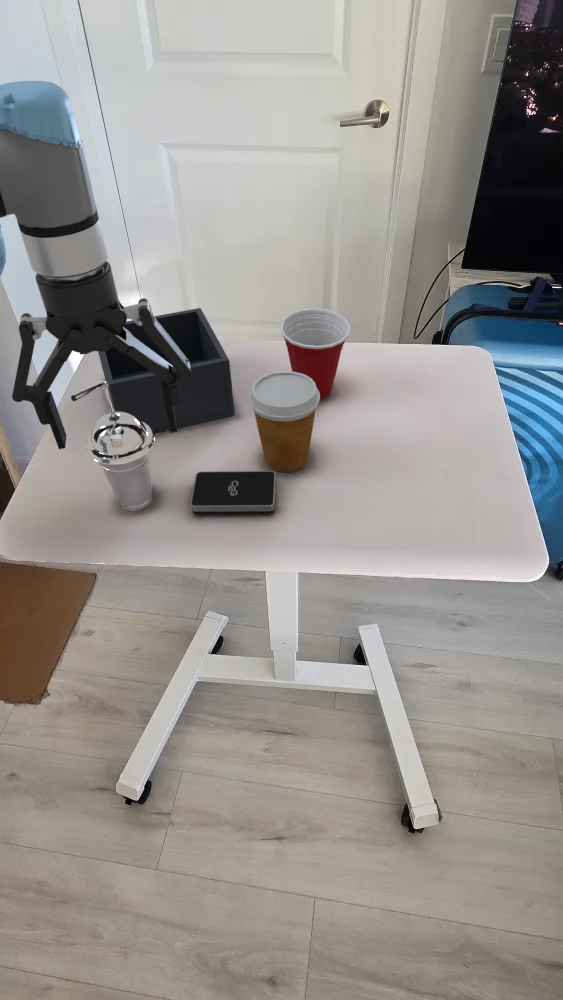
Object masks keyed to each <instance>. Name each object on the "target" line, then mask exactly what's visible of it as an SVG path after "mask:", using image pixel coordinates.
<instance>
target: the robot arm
mask: <svg viewBox="0 0 563 1000" xmlns="http://www.w3.org/2000/svg"><path fill="white" fill-rule="evenodd" d="M69 97H70V96H69V94H67V92H66V91H65V90H64V89H63V88H62V87H61V86H59V85H58V84H57V83H54V82H52V81H46V80H22V81H12V82H5V83H3V84H0V219H2V218H5V217H7V216H10V215H11V216H12V215H14V216H15V218H16V222H17V225H18V229H19V232H20V235H21V238H22V241H23V245H24V247H25V252H26V254H27V258H28V261H29V264H30V267H31V270H33V272H35V273H36V274H35V282H36V285H37V287H38V291H39V294H40V297H41V300H42V303H43V307H44V310H45V313H46V316H43V317H42V316H41V317H35V316H33V315H32V314H31V313H28V312H24V313H23V314H21V316H20V321H19V324H18V332H19V337H20V340H21V348H20V352H19V357H18V364H17V369H16V374H15V379H14V384H13V389H12V394H11V398H12V400H13V401H14V402H16V403H21V402H23V401H25V402H29V403H31V404H32V405H33V407H34V410H35V414H36V415H37V416H36V417H37V418H38V421H39V423H40V424H41V425H42V426H46V425H49V426H50V430H51V431H52V434H53V438H54V439H55V443H56V445H57V448H58V450H63V449H64V450H65V449H66V444H67V433H66V429H65V427H64V424H63V421H62V419H61V415H60V413H59V409H58V406H57V403H56V401H55V399H54V396H53V392H52V391H51V390H50V388H51V387H52V384H53V383H54V382H55V379H56V378H57V376H58V374H59V373H60V371H61V370H62V368H63V366H64V364H65V363H66V362H67V361H68V360H69V357H70V356H71V354H72V353H73V352H75V353H79V355H87V354H90V353H93V352H98V351H99V352H104V351H109V349H110V348H111V347H114V348H116V349H117V350H119V351H120V352H121V353H123V354H127V355H129V356H130V357H131V358H133V359H134V360H136V361H137V362H138V363H140V364H141V365H143V366H144V367H145V368H147V369H148V370H149V371H151V372H152V373H154V374H155V375H156V376H158V377H159V378H161V385H162V391H163V396H164V401H165V406H166V411H167V416H168V421H169V425H170V430H169V431H170V433H177V432H178V428H177V427H176V419H175V414H174V409H173V406H176V405H180V404H181V397H180V391H179V385H178V382H179V381H180V380H181V379H182V378H190V377H191V375H192V372H191V366H190V362H189V360H188V359H187V357H186V356H185V355H184V354H183V352H182V351H181V350H180V349H179V347H178V346H177V345H176V344H175V342H174V341H173V340H172V339H171V337H170V336H169V335H168V333H167V332H166V331H165V330H164V328H163V327H162V326H161V325H160V323H159V322H158V321H157V320H156V318H155V317H154V316H155V315H154V313H153V309H152V306H151V303H150V301H149V300H148V299H147V298H144V297H143V298H140V299H139V300H138V302H137V303H136V304H132V305H128V306H127V305H126V306H124V305H123V304H122V303H121V301H120V299H119V296H118V295H119V294H118V292H117V286H116V282H115V279H114V275H113V270H112V266H111V264H110V262H109V261H107V260H108V259H109V253H108V249H107V245H106V241H105V236H104V233H103V228H102V224H101V223H102V222H101V219H100V216H99V213H98V207H97V204H96V199H95V195H94V191H93V187H92V182H91V181H92V180H91V178H90V173H89V169H88V168H89V167H88V163H87V159H86V156H85V155H86V154H85V150H84V147H85V144H84V141H83V139H82V138H81V134H80V131H79V127H78V124H77V121H76V118H75V114H74V111H73V107H72V103H71V100H70V98H69ZM6 263H7V251H6V244H5V240H4V235H3V233H2V226H1V224H0V277H1V276H2V274H3V272H4V269H5V265H6ZM128 320H130V321H131V320H133V321H134V322H135V323H136V324H137V325H138V326H142V325H143V327H144V329H145V331H146V333H147V334H148V335H149V337H150V338H151V339H152V340H153V342H154V343H155V344H156V345H157V346H158V348H159V349H160V350H161V351H162V353H163V354H164V355H165V356H166V357H167V359H168V360H169V361H170V362H171V363H172V365H173V366H172V365H171V364H170V363H168V362H167V361H166V360H164V359H163V358H162V357H160V356H159V355H158V354H156V353H155V352H154V351H152V350H151V349H150V348H148V347H147V346H146V345H144V344H143V343H142V342H140V341H139V340H138V339H136V338H135V337H134V336H132V334H131V333H130V332H129V331H128V330H127V329H126V328H124V325H125V323H126V321H128ZM44 331H47V332H48V333H49V334H51V335H52V336H53V337H55V338H56V339H57V342H56V343H55V346H54V348H53V350H52V352H51V353H50V355H49V356H48V358H47V361H45V364H44V365H43V368H42V369H41V371H40V373H39V374H38V376H37V378H36V380H35V382H33V383H32V385H28V384H27V383H28V379H29V375H30V370H31V363H32V361H33V355H34V349H35V344H36V341H37V340H39V339H41V338H42V335H43V332H44ZM49 390H50V391H49Z"/></svg>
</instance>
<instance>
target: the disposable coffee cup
mask: <svg viewBox="0 0 563 1000" xmlns="http://www.w3.org/2000/svg"><path fill="white" fill-rule="evenodd" d="M320 400H321V399H320V393H319V391H318V389H317V388H316V384H315V382H314V381H313V380H312V379H311V378H310V377H308V376H307V375H304V374H302V373H297V372H293V371H292V370H278V371H272V372H270V373H267V374H263V375H262V376H260V377H259V378H257V380H255V381H254V383H253V384H252V386H251V390H250V392H249V394H248V402H249V405H250V407H251V408H252V410H253V412H254V417H255V421H256V426H257V431H258V435H259V440H260V445H261V449H262V453H263V457H264V462H265V464H266V466H267V467H268V468H270V469H271V470H272V471H275V472H279V473H293V472H296V471H299V470H301V469H302V468H304V467H305V466H306V465H307V463H308V461H309V454H310V449H311V442H312V436H313V429H314V423H315V416H316V410H317V407H318V404H319V403H320Z"/></svg>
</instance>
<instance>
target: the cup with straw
mask: <svg viewBox="0 0 563 1000" xmlns="http://www.w3.org/2000/svg"><path fill="white" fill-rule="evenodd" d="M101 387H102V389H103V393H104V397H105V400H106V404H107V408H108V411H109V412H107V413H105V414H103V415H102V416H100V417H99V418H98V419H97V420H96V421H95V423H94V424H93V427H92V430H91V433H90V434H89V435H88V436H87V439H86V453H87V454H88V457H90V458H91V459H92V460H93V461H95V462H97V463H98V465H99V466H100V467H101V469H102V470H103V471H104V474H105V476H106V478H107V480H108V483H109V485H110V487H111V489H112V492H113V494H114V496H115V498H116V499H117V501H118V503H119V506H120V507H121V508H122V509H123V510H125V511H130V512H136V511H141V510H142V509H143V510H144V509H145V508H147V507H148V506H150V504H151V503H152V501H153V497H154V496H153V486H152V485H153V484H152V475H151V474H152V473H151V463H150V461H151V460H150V458H151V450H152V449H153V447H154V445H155V441H156V436H155V433H153V432H152V429H151V428H150V427H149V426H148V425H147V424H146V423H144V422H142V421H141V420H140V419H139V418H138V417H136V416H135V415H133V414H131V413H129V412H125V411H115V408H114V404H113V400H112V396H111V392H110V389H109V385H108V383H107V382H106V381H105V379H99V380H97V381H95V382H93V383H92V384H90V385H88V386H86V387H85V388H83V389H81V390H79V391H77V392H76V393H74V394H72V395H71V396H70V399H71V401H72V402H76V401H79V400H80V399H82V398H84V397H85V396H86V395H89V394H90V393H92V392H94V391H96V390H97V389H100V388H101Z"/></svg>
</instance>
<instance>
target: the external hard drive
mask: <svg viewBox="0 0 563 1000" xmlns="http://www.w3.org/2000/svg"><path fill="white" fill-rule="evenodd" d="M276 475H277V474H276V471H274V470H230V471H229V470H226V471H225V470H224V471H223V470H222V471H221V470H219V471H215V470H213V471H209V470H208V471H198V472H196V474H195V477H194V482H193V487H192V493H191V497H190V498H191V499H190V509H191V512H192V514H193V515H199V516H200V515H209V516H210V515H272V514H273V513H274V512H275V509H276V508H275V506H276V494H277V488H276V485H277V484H276V483H277V479H276V477H277V476H276Z"/></svg>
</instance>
